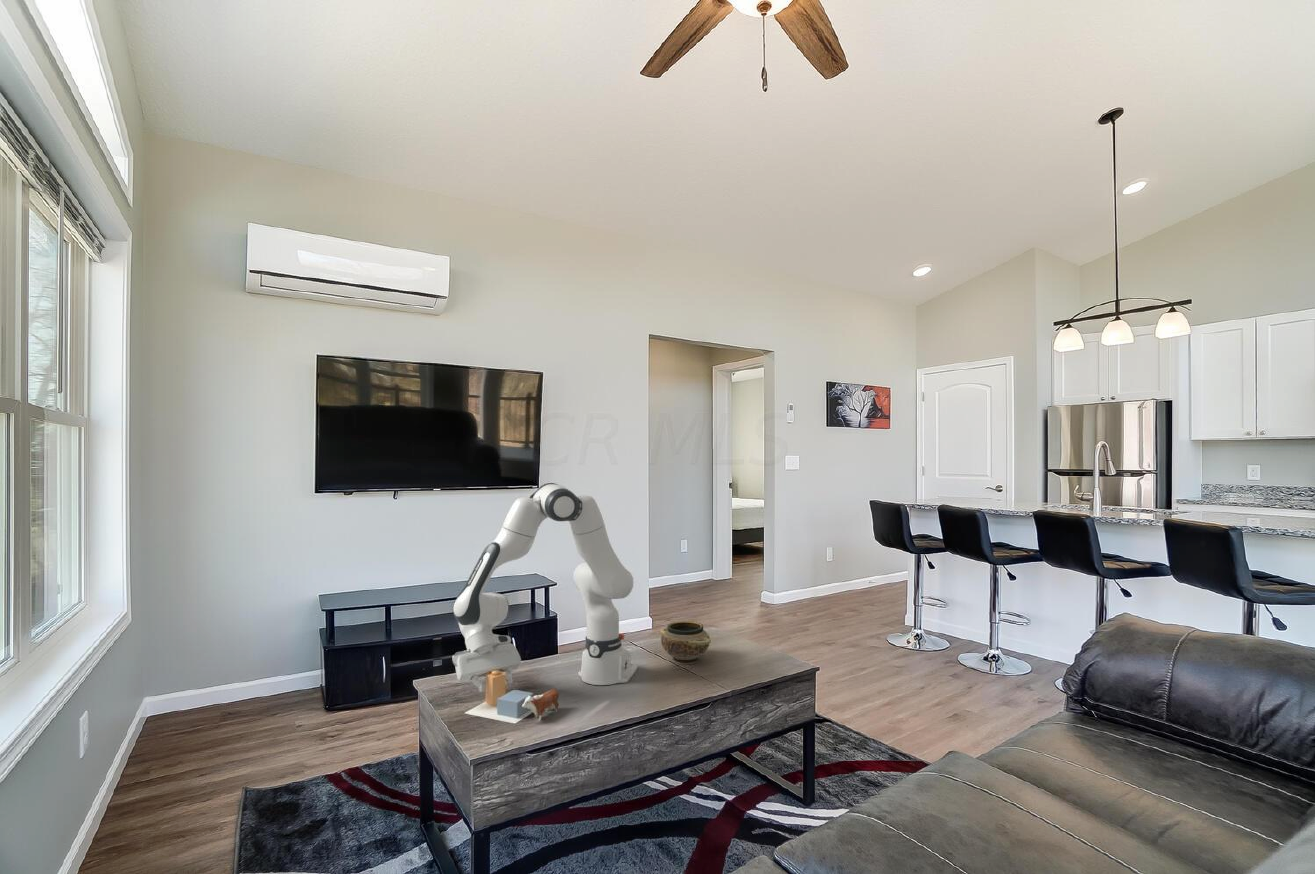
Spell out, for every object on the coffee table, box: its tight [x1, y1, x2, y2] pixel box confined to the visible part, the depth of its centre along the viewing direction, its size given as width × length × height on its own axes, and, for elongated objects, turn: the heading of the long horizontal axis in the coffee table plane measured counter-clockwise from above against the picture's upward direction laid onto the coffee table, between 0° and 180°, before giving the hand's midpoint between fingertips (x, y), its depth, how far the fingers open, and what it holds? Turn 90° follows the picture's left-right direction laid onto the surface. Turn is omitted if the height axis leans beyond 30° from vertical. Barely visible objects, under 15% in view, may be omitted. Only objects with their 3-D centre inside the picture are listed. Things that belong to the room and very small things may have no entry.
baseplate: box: [464, 700, 533, 724], centre depth 191 cm, size 17×18×1 cm
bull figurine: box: [522, 688, 559, 721], centre depth 185 cm, size 4×13×8 cm, turn 146°
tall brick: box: [485, 670, 507, 707], centre depth 195 cm, size 4×4×9 cm
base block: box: [497, 689, 534, 718], centre depth 188 cm, size 8×7×4 cm
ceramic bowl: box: [659, 620, 712, 665], centre depth 237 cm, size 24×18×15 cm
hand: (496, 686), depth 194 cm, fingers open, 8 cm apart
